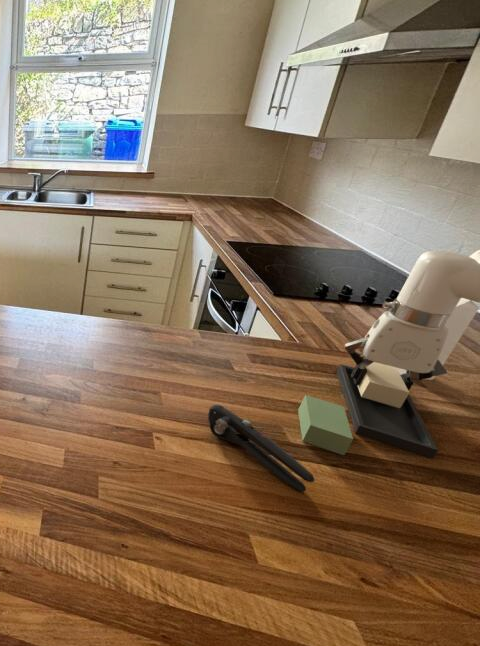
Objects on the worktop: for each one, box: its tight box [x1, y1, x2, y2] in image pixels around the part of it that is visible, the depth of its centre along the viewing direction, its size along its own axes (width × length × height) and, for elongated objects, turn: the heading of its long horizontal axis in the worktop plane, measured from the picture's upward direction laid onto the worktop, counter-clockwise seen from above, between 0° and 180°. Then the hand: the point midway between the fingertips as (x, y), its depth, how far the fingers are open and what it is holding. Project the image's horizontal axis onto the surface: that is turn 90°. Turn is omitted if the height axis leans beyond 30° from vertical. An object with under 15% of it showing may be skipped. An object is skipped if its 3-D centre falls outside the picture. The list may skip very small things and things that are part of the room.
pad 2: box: [357, 362, 410, 408], centre depth 85 cm, size 6×10×4 cm, turn 147°
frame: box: [336, 363, 439, 459], centre depth 83 cm, size 11×24×2 cm, turn 147°
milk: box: [397, 298, 480, 381], centre depth 90 cm, size 6×6×22 cm
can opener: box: [207, 404, 315, 493], centre depth 70 cm, size 18×7×6 cm, turn 23°
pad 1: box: [297, 394, 354, 456], centre depth 76 cm, size 6×10×4 cm, turn 147°
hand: (376, 386), depth 86 cm, fingers closed on pad 2, 6 cm apart
